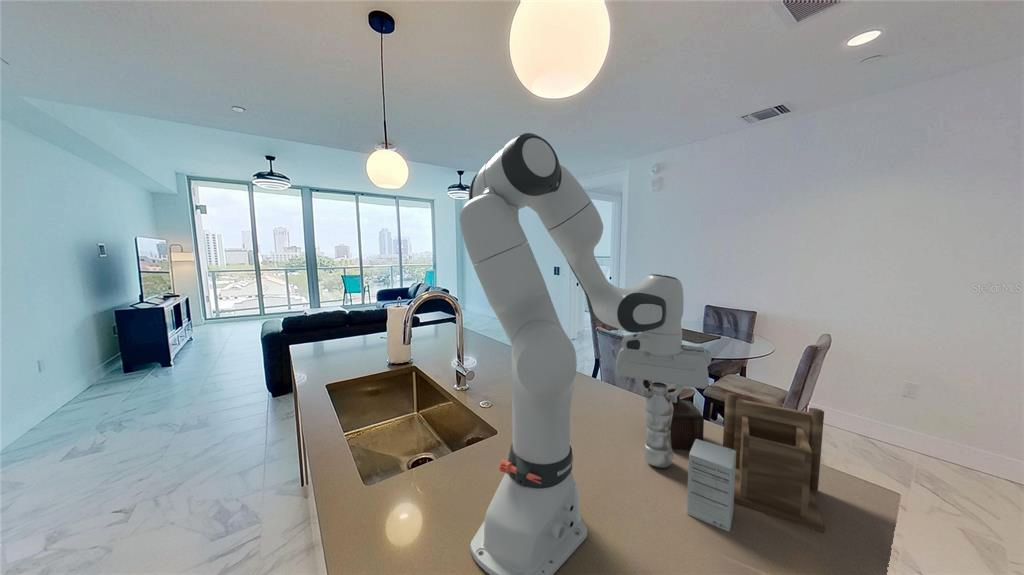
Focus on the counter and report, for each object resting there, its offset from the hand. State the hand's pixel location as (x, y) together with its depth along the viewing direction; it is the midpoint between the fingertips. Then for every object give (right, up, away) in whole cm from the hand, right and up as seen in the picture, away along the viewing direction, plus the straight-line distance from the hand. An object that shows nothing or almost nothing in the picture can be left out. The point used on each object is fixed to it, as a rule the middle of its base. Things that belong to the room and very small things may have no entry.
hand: (658, 398), depth 79 cm
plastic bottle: (0, -17, +2) cm, 17 cm away
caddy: (+20, -17, -9) cm, 28 cm away
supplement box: (+4, -18, -14) cm, 23 cm away
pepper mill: (+8, -16, +13) cm, 22 cm away
